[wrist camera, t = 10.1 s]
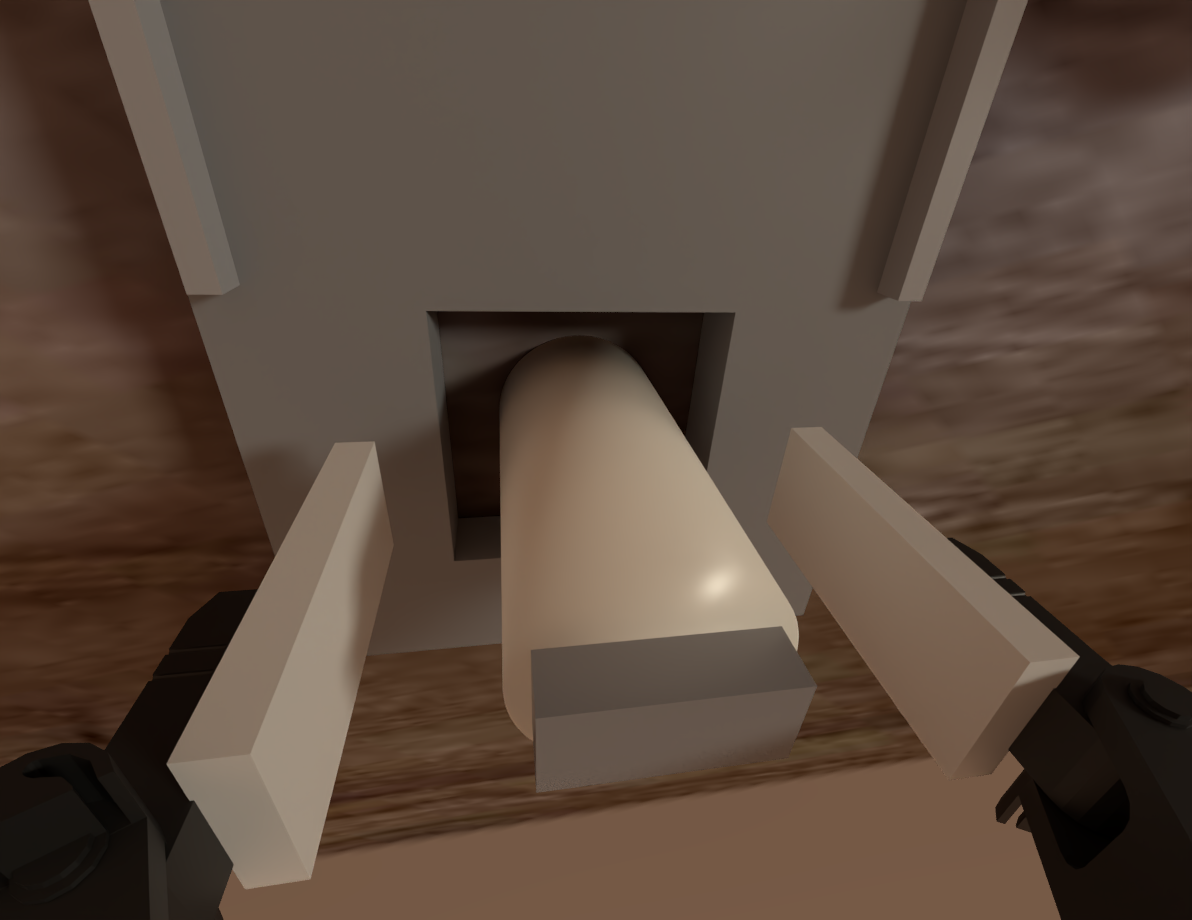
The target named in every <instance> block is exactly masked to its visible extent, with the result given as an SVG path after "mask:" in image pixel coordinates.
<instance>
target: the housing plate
mask: <svg viewBox="0 0 1192 920" xmlns="http://www.w3.org/2000/svg"><path fill="white" fill-rule="evenodd" d="M88 1H89V4H90V7H91V10H92V13H93V16H94V19H95V22H96V25H97V28H98V31H99V34H100V37H101V40H102V43H103V46H104V49H105V52H106V55H107V58H108V61H109V64H110V67H111V70H112V73H113V76H114V79H115V82H116V85H117V88H118V91H119V94H120V97H121V99H122V102H123V105H124V108H125V111H126V114H127V117H128V120H129V123H130V126H131V129H132V132H133V135H134V138H135V141H136V144H137V147H138V150H139V153H140V156H141V159H142V162H143V165H144V168H145V171H146V174H147V177H148V180H149V183H150V186H151V189H152V192H153V195H154V198H155V201H156V204H157V207H158V210H159V213H160V216H161V219H162V222H163V225H164V228H165V231H166V234H167V237H168V240H169V243H170V246H171V249H172V252H173V255H174V258H175V261H176V264H177V267H178V270H179V273H180V276H181V279H182V282H183V285H184V288H185V291H186V294H187V295H188V298H189V301H190V304H191V307H192V310H193V313H194V316H195V319H196V322H197V325H198V328H199V331H200V334H201V337H202V340H203V343H204V346H205V349H206V352H207V355H208V358H209V361H210V364H211V367H212V370H213V373H214V376H215V379H216V382H217V385H218V388H219V391H220V394H221V397H222V400H223V403H224V406H225V409H226V412H227V415H228V418H229V421H230V424H231V427H232V430H233V433H234V436H235V439H236V442H237V445H238V448H239V451H240V454H241V457H242V460H243V463H244V466H245V469H246V472H247V475H248V478H249V481H250V484H251V487H252V490H253V492H254V495H255V498H256V501H257V504H258V507H259V510H260V513H261V516H262V519H263V522H264V525H265V528H266V531H267V534H268V537H269V540H270V543H271V546H272V549H273V552H274V555H275V556H276V554H277V552H278V550H279V549H280V547H281V545H282V543H283V541H284V539H285V537H286V535H287V533H288V531H289V530H290V528H291V526H292V524H293V522H294V520H295V518H296V516H297V514H298V512H299V510H300V509H301V507H302V505H303V503H304V501H305V499H306V497H307V495H308V493H309V491H310V490H311V488H312V486H313V484H314V482H315V480H316V478H317V476H318V474H319V472H320V471H321V469H322V467H323V465H324V463H325V461H326V459H327V457H328V455H329V453H330V451H331V450H332V448H333V446H334V444H335V443H341V442H372V441H375V447H376V452H377V457H378V463H379V468H380V474H381V479H382V485H383V490H384V495H385V501H386V506H387V512H388V517H389V522H390V528H391V533H392V539H393V544H394V546H393V550H392V554H391V558H390V562H389V566H388V570H387V574H386V578H385V582H384V586H383V590H382V594H381V598H380V602H379V606H378V610H377V614H376V618H375V622H374V626H373V630H372V634H371V638H370V642H369V646H368V650H367V654H366V656H369V655H380V654H391V653H402V652H412V651H423V650H434V649H444V648H455V647H466V646H477V645H487V644H498V643H502V595H501V516H492V517H474V518H458V509H457V500H456V490H455V480H454V470H453V460H452V451H451V441H450V431H449V421H448V411H447V402H446V392H445V382H444V372H443V362H442V353H441V343H440V333H439V323H438V313H437V311H529V312H704V316H703V323H702V329H701V336H700V342H699V349H698V356H697V362H696V369H695V376H694V382H693V389H692V395H691V402H690V409H689V415H688V422H687V428H686V435H685V438H686V440H687V441H688V443H689V444H690V446H691V447H692V449H693V451H694V452H695V454H696V455H697V457H698V459H699V460H700V462H701V463H702V465H703V467H704V468H705V470H706V471H707V473H708V474H709V476H710V478H711V479H712V481H713V482H714V484H715V486H716V487H717V489H718V490H719V492H720V494H721V495H722V497H723V498H724V500H725V501H726V503H727V505H728V506H729V508H730V509H731V511H732V513H733V514H734V516H735V517H736V519H737V521H738V522H739V524H740V525H741V527H742V529H743V530H744V532H745V533H746V535H747V536H748V538H749V540H750V541H751V543H752V544H753V546H754V548H755V549H756V551H757V552H758V554H759V556H760V557H761V559H762V560H763V562H764V563H765V565H766V567H767V568H768V570H769V571H770V573H771V575H772V576H773V578H774V579H775V581H776V583H777V584H778V586H779V587H780V589H781V590H782V592H783V594H784V595H785V597H786V598H787V600H788V602H789V604H790V605H791V607H792V609H793V610H794V613H795V616H798V615H803V614H804V611H805V608H806V605H807V602H808V600H809V597H810V594H811V591H812V588H813V587H812V586H811V584H810V583H809V581H808V580H807V579H806V577H805V576H804V574H803V573H802V571H801V570H800V569H799V567H798V566H797V564H796V563H795V562H794V560H793V559H792V557H791V556H790V554H789V553H788V552H787V550H786V549H785V547H784V546H783V545H782V543H781V542H780V540H779V539H778V537H777V536H776V535H775V533H774V532H773V530H772V529H771V527H770V526H769V525H768V523H767V519H768V515H769V511H770V508H771V504H772V500H773V496H774V492H775V489H776V485H777V481H778V477H779V473H780V469H781V466H782V462H783V458H784V454H785V450H786V447H787V443H788V439H789V435H790V431H791V428H805V427H822V428H823V429H824V430H825V431H827V432H828V433H829V434H830V435H831V436H832V437H833V438H834V439H836V440H837V441H838V442H839V443H840V444H841V445H842V446H843V447H845V448H846V449H847V450H848V451H849V452H850V453H851V454H852V455H854V456H855V457H856V458H857V457H858V454H859V451H860V448H861V446H862V443H863V440H864V437H865V434H866V431H867V428H868V425H869V422H870V419H871V416H872V414H873V411H874V408H875V405H876V402H877V399H878V396H879V393H880V390H881V387H882V385H883V382H884V379H885V376H886V373H887V370H888V367H889V364H890V361H891V358H892V355H893V353H894V350H895V347H896V344H897V341H898V338H899V335H900V332H901V329H902V326H903V323H904V321H905V318H906V315H907V312H908V309H909V306H910V303H911V301H922V299H923V296H924V293H925V290H926V287H927V284H928V282H929V279H930V276H931V273H932V270H933V267H934V265H935V262H936V259H937V256H938V253H939V250H940V248H941V245H942V242H943V239H944V236H945V234H946V231H947V228H948V225H949V222H950V219H951V217H952V214H953V211H954V208H955V205H956V202H957V200H958V197H959V194H960V191H961V188H962V186H963V183H964V180H965V177H966V174H967V171H968V169H969V166H970V163H971V160H972V157H973V154H974V152H975V149H976V146H977V143H978V140H979V137H980V135H981V132H982V129H983V126H984V123H985V121H986V118H987V115H988V112H989V109H990V106H991V104H992V101H993V98H994V95H995V92H996V89H997V87H998V84H999V81H1000V78H1001V75H1002V72H1003V70H1004V67H1005V64H1006V61H1007V58H1008V56H1009V53H1010V50H1011V47H1012V44H1013V41H1014V39H1015V36H1016V33H1017V30H1018V27H1019V24H1020V22H1021V19H1022V16H1023V13H1024V10H1025V7H1026V5H1027V2H1028V0H88Z"/></svg>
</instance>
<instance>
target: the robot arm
mask: <svg viewBox="0 0 1192 920" xmlns="http://www.w3.org/2000/svg"><path fill="white" fill-rule="evenodd" d="M767 523H768V525H769V526H770V527H771V529H772V530H773V532H774V533H775V535H776V536H777V537H778V539H779V540H780V542H781V543H782V545H783V546H784V547H785V549H786V550H787V552H788V553H789V554H790V556H791V557H792V559H793V560H794V562H795V563H796V564H797V566H798V567H799V569H800V570H801V571H802V573H803V574H804V576H805V577H806V579H807V580H808V581H809V583H810V584H811V586H812V587H813V589H814V590H815V591H816V593H817V594H818V596H819V597H820V598H821V600H822V601H823V603H824V604H825V606H826V607H827V608H828V610H829V611H830V613H831V614H832V615H833V617H834V618H835V620H836V621H837V623H838V624H839V625H840V627H841V628H842V630H843V631H844V633H845V634H846V635H847V637H848V638H849V640H850V641H851V642H852V644H853V645H854V647H855V648H856V650H857V651H858V652H859V654H860V655H861V657H862V658H863V659H864V661H865V662H866V664H867V665H868V667H869V668H870V669H871V671H872V672H873V674H874V675H875V677H876V678H877V679H878V681H879V682H880V684H881V685H882V686H883V688H884V689H885V691H886V692H887V694H888V695H889V696H890V698H891V699H892V701H893V702H894V703H895V705H896V706H897V708H898V709H899V711H900V712H901V713H902V715H903V716H904V718H905V719H906V721H907V722H908V723H909V725H910V726H911V728H912V729H913V730H914V732H915V733H916V735H917V736H918V738H919V739H920V740H921V742H922V743H923V745H924V746H925V747H926V749H927V750H928V752H929V753H930V755H931V756H932V757H933V759H934V760H935V762H936V763H937V765H938V766H939V767H940V769H941V770H942V772H943V773H944V774H945V776H946V777H947V779H948V780H956V779H962V778H969V777H974V776H981V775H988V774H992V773H993V771H994V770H995V768H996V767H997V766H998V765H999V763H1000V762H1001V761H1002V759H1003V758H1004V756H1005V755H1006V754H1007V752H1008V751H1010V752H1011V753H1012V754H1013V756H1014V757H1015V758H1016V759H1017V760H1018V761H1019V763H1020V764H1021V765H1022V766H1023V767H1024V770H1023V772H1022V773H1021V774H1020V775H1019V776H1018V778H1017V779H1016V780H1015V781H1014V783H1013V784H1012V785H1011V786H1010V788H1009V789H1008V790H1007V791H1006V793H1005V794H1004V795H1003V796H1002V797H1001V799H1000V801H999V802H998V804H997V806H996V818H997V819H996V820H997V822H1000V823H1003V824H1005V823H1006V822H1007V821H1008V820H1009V818H1010V817H1011V816H1012V815H1013V814H1014V812H1015V811H1016V810H1017V809H1018V808H1019V806H1020V805H1021V804H1022V807H1023V810H1024V811H1023V813H1022V814H1021V815H1020V816H1019V817H1018V820H1017V823H1016V827H1017V828H1019V829H1022V830H1025V831H1028V832H1031V833H1032V836H1033V838H1034V841H1035V845H1036V847H1037V850H1038V853H1039V856H1040V859H1041V861H1042V865H1043V868H1044V871H1045V873H1046V877H1047V879H1048V882H1049V885H1050V888H1051V891H1052V894H1053V897H1054V900H1055V903H1056V906H1057V908H1058V911H1059V914H1060V917H1061V920H1192V692H1190V691H1189V690H1188V689H1186V688H1185V687H1183V686H1181V685H1179V684H1177V683H1175V682H1173V681H1172V680H1170V679H1168V678H1166V677H1164V676H1162V675H1160V674H1157V673H1154V672H1151V671H1148V670H1145V669H1143V668H1140V667H1135V666H1127V665H1119V664H1118V665H1114V666H1112V665H1110V664H1109V663H1108V662H1107V661H1105V660H1104V659H1103V658H1102V657H1101V656H1099V655H1098V654H1097V653H1096V652H1095V651H1094V650H1092V649H1091V648H1090V647H1089V646H1088V645H1087V644H1085V643H1084V642H1083V641H1082V640H1081V639H1080V638H1078V637H1077V636H1076V635H1075V634H1074V633H1073V632H1071V631H1070V630H1069V629H1068V628H1067V627H1066V626H1064V625H1063V624H1062V623H1061V622H1060V621H1059V620H1057V619H1056V618H1055V617H1054V616H1053V615H1052V614H1051V613H1049V612H1048V611H1047V610H1046V609H1045V608H1044V607H1042V606H1041V605H1040V604H1039V603H1038V602H1037V601H1035V600H1034V599H1033V598H1032V597H1031V596H1028V597H1027V596H1026V595H1025V591H1024V590H1023V589H1021V588H1020V587H1019V586H1018V585H1017V584H1016V583H1014V582H1013V581H1012V580H1011V579H1006V577H1005V574H1004V573H1003V572H1002V571H1000V570H999V569H998V568H997V567H996V566H995V565H993V564H992V563H991V562H990V561H989V560H988V559H986V558H985V557H984V556H983V555H982V554H980V553H978V552H976V551H975V550H973V549H971V548H969V547H968V546H966V545H964V544H962V543H961V542H959V541H957V540H955V539H953V538H946V537H945V536H943V535H942V534H941V533H940V532H939V531H938V530H937V529H936V528H934V527H933V526H932V525H931V524H930V523H929V522H928V521H927V520H925V519H924V518H923V517H922V516H921V515H920V514H919V513H918V512H916V511H915V510H914V509H913V508H912V507H911V506H910V505H909V504H907V503H906V502H905V501H904V500H903V499H902V498H901V497H900V496H898V495H897V494H896V493H895V492H894V491H893V490H892V489H891V488H890V487H888V486H887V485H886V484H885V483H884V482H883V481H882V480H881V479H879V478H878V477H877V476H876V475H875V474H874V473H873V472H872V471H870V470H869V469H868V468H867V467H866V466H865V465H864V464H863V463H861V462H860V461H859V460H858V459H857V458H856V457H855V456H854V455H852V454H851V453H850V452H849V451H848V450H847V449H846V448H845V447H843V446H842V445H841V444H840V443H839V442H838V441H837V440H836V439H834V438H833V437H832V436H831V435H830V434H829V433H828V432H827V431H825V430H824V429H823V428H822V427H805V428H791V431H790V435H789V439H788V443H787V447H786V450H785V454H784V458H783V462H782V466H781V469H780V473H779V477H778V481H777V485H776V489H775V492H774V496H773V500H772V504H771V508H770V511H769V515H768V519H767ZM393 546H394V544H393V539H392V533H391V528H390V522H389V517H388V512H387V506H386V501H385V495H384V490H383V485H382V479H381V474H380V468H379V463H378V457H377V452H376V447H375V441H372V442H341V443H335V444H334V446H333V448H332V450H331V451H330V453H329V455H328V457H327V459H326V461H325V463H324V465H323V467H322V469H321V471H320V472H319V474H318V476H317V478H316V480H315V482H314V484H313V486H312V488H311V490H310V491H309V493H308V495H307V497H306V499H305V501H304V503H303V505H302V507H301V509H300V510H299V512H298V514H297V516H296V518H295V520H294V522H293V524H292V526H291V528H290V530H289V531H288V533H287V535H286V537H285V539H284V541H283V543H282V545H281V547H280V549H279V550H278V552H277V554H276V556H275V558H274V560H273V562H272V564H271V566H270V568H269V570H268V571H267V573H266V575H265V577H264V579H263V581H262V583H261V585H260V587H259V589H256V590H242V591H228V592H219V593H218V594H217V595H215V596H214V597H213V598H212V599H211V600H210V601H208V602H207V603H206V604H205V605H204V606H203V607H201V608H200V609H199V610H198V611H197V612H196V613H194V614H193V615H192V616H191V617H190V618H189V619H188V620H187V622H186V623H185V625H184V626H183V628H182V630H181V631H180V633H179V634H178V636H177V637H176V639H175V641H174V642H173V644H172V645H171V647H170V648H169V650H170V652H169V655H165V656H164V658H163V659H162V661H161V663H160V664H159V666H158V667H157V669H156V670H155V672H154V673H153V680H152V681H148V683H147V684H146V686H145V688H144V689H143V691H142V692H141V694H140V695H139V697H138V699H137V700H136V702H135V703H134V705H133V706H132V708H131V710H130V711H129V713H128V714H127V716H126V717H125V719H124V721H123V722H122V724H121V725H120V727H119V728H118V730H117V732H116V733H115V735H114V736H113V738H112V739H111V741H110V742H109V744H108V746H107V747H106V749H105V750H102V749H100V748H99V747H97V746H95V745H93V744H91V743H61V744H58V745H54V746H51V747H47V748H44V749H41V750H37V751H34V752H31V753H27V754H25V755H23V756H21V757H19V758H17V759H16V760H14V761H12V762H10V763H8V764H6V765H4V766H2V767H0V920H223V917H222V915H221V912H220V910H219V908H218V907H219V904H220V901H221V899H222V896H223V893H224V890H225V888H226V885H227V882H228V879H229V876H230V874H231V870H232V869H233V871H234V872H235V874H236V876H237V877H238V879H239V880H240V882H241V884H242V885H243V887H244V888H245V889H250V888H256V887H263V886H269V885H276V884H282V883H288V882H296V881H301V880H308V879H311V875H312V871H313V867H314V863H315V859H316V855H317V851H318V847H319V843H320V839H321V835H322V831H323V827H324V823H325V819H326V815H327V811H328V807H329V803H330V799H331V795H332V791H333V787H334V783H335V779H336V775H337V771H338V767H339V763H340V759H341V755H342V751H343V747H344V743H345V739H346V735H347V731H348V727H349V723H350V719H351V715H352V710H353V706H354V702H355V698H356V694H357V690H358V686H359V682H360V678H361V674H362V670H363V666H364V662H365V658H366V654H367V650H368V646H369V642H370V638H371V634H372V630H373V626H374V622H375V618H376V614H377V610H378V606H379V602H380V598H381V594H382V590H383V586H384V582H385V578H386V574H387V570H388V566H389V562H390V558H391V554H392V550H393Z"/></svg>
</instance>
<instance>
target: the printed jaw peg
mask: <svg viewBox="0 0 1192 920" xmlns="http://www.w3.org/2000/svg"><path fill="white" fill-rule="evenodd" d="M499 432H500V514H501V595H502V676H503V696H504V702H505V706H506V708H507V711H508V714H509V716H510V718H511V719H512V721H513V722H514V724H515V725H516V727H517V728H518V729H519V730H520V731H521V732H522V733H523V734H524V735H525V736H526V737H527V738H529V739H530V740H531V741H533V746H534V762H535V779H536V793H537V792H545V791H552V790H559V789H566V788H574V787H581V786H588V785H595V784H603V783H610V782H617V781H625V780H632V779H639V778H646V777H654V776H661V775H668V774H675V773H683V772H690V771H697V770H704V769H712V768H719V767H726V766H734V765H741V764H748V763H755V762H763V761H770V760H777V759H784V758H788V757H789V754H790V752H791V749H792V747H793V744H794V742H795V739H796V737H797V735H798V732H799V730H800V727H801V725H802V722H803V720H804V717H805V715H806V712H807V710H808V707H809V705H810V702H811V700H812V697H813V695H814V692H815V690H816V687H817V685H816V684H815V682H814V680H813V679H812V677H811V675H810V673H809V672H808V670H807V668H806V667H805V665H804V663H803V661H802V660H801V658H800V656H799V655H798V653H797V649H798V639H799V632H798V623H797V620H796V617H795V613H794V610H793V609H792V607H791V605H790V604H789V602H788V600H787V598H786V597H785V595H784V594H783V592H782V590H781V589H780V587H779V586H778V584H777V583H776V581H775V579H774V578H773V576H772V575H771V573H770V571H769V570H768V568H767V567H766V565H765V563H764V562H763V560H762V559H761V557H760V556H759V554H758V552H757V551H756V549H755V548H754V546H753V544H752V543H751V541H750V540H749V538H748V536H747V535H746V533H745V532H744V530H743V529H742V527H741V525H740V524H739V522H738V521H737V519H736V517H735V516H734V514H733V513H732V511H731V509H730V508H729V506H728V505H727V503H726V501H725V500H724V498H723V497H722V495H721V494H720V492H719V490H718V489H717V487H716V486H715V484H714V482H713V481H712V479H711V478H710V476H709V474H708V473H707V471H706V470H705V468H704V467H703V465H702V463H701V462H700V460H699V459H698V457H697V455H696V454H695V452H694V451H693V449H692V447H691V446H690V444H689V443H688V441H687V440H686V438H685V436H684V435H683V433H682V432H681V430H680V428H679V427H678V425H677V424H676V422H675V420H674V419H673V417H672V416H671V414H670V412H669V411H668V409H667V408H666V406H665V405H664V403H663V401H662V400H661V398H660V397H659V395H658V393H657V392H656V390H655V389H654V387H653V385H652V384H651V382H650V381H649V379H648V378H647V376H646V374H645V373H644V371H643V370H642V368H641V366H640V365H639V364H638V362H637V361H636V360H635V359H634V358H633V357H632V356H631V355H630V354H629V353H628V352H627V351H625V350H624V349H622V348H621V347H620V346H618V345H616V344H614V343H612V342H610V341H607V340H604V339H601V338H597V337H592V336H580V335H579V336H567V337H562V338H557V339H554V340H551V341H548V342H546V343H544V344H542V345H540V346H538V347H536V348H535V349H533V350H532V351H530V352H529V353H528V354H526V355H525V356H524V357H523V358H522V359H521V360H520V361H519V362H518V363H517V364H516V365H515V366H514V368H513V369H512V371H511V372H510V374H509V375H508V377H507V379H506V381H505V383H504V386H503V389H502V392H501V397H500V403H499Z"/></svg>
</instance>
